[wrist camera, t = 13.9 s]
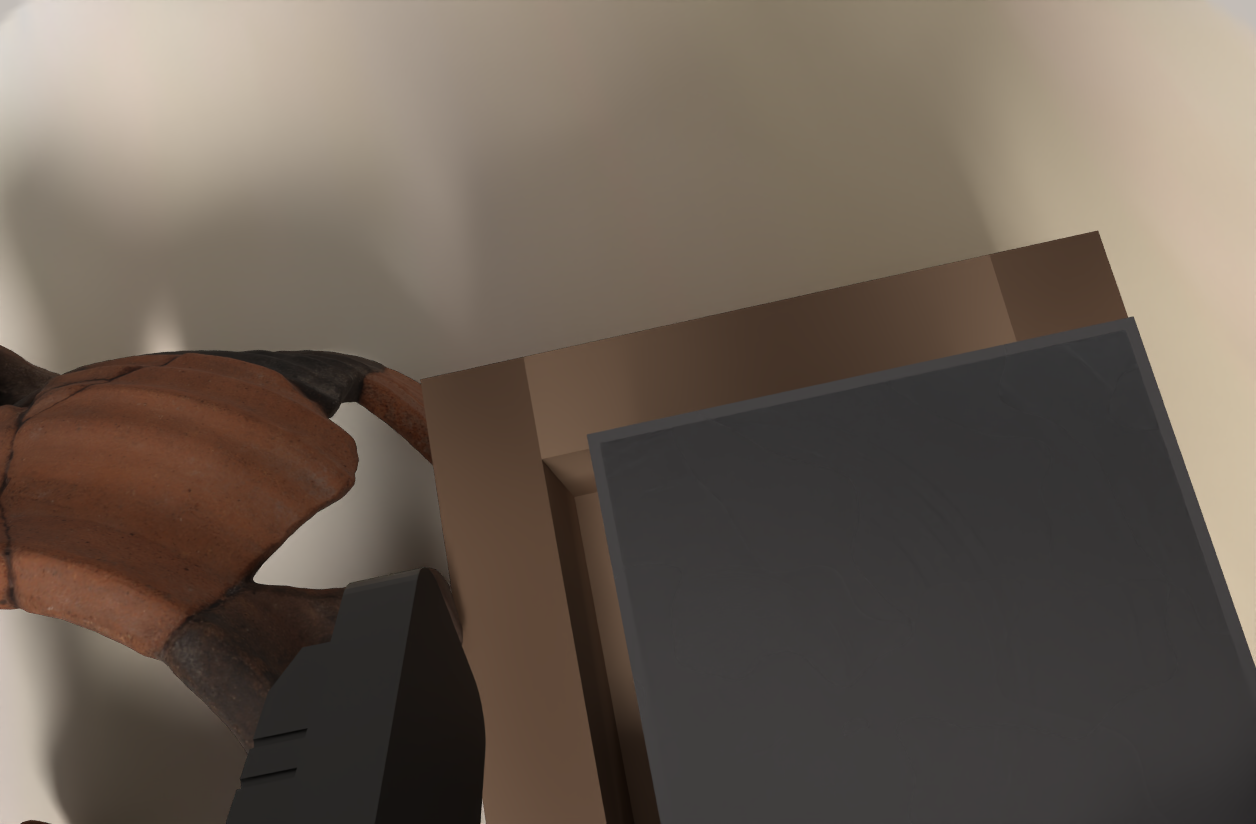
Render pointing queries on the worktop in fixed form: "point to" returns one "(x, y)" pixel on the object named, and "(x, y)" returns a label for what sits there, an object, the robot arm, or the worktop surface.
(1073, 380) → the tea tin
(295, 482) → the pottery mug
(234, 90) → the worktop surface
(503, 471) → the walnut mount
